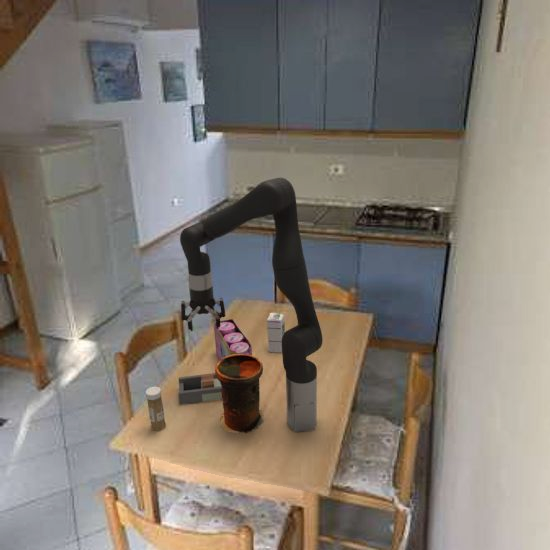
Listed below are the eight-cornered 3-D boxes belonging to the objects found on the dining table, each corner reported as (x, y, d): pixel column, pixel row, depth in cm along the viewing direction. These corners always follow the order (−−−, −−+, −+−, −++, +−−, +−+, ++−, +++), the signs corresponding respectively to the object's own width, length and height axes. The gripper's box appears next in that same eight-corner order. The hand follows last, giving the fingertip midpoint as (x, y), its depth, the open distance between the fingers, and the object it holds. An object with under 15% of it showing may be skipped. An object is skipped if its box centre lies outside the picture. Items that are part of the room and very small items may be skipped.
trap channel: (244, 396, 166) (243, 385, 164) (179, 404, 162) (178, 393, 161) (241, 380, 174) (240, 369, 172) (179, 388, 171) (178, 377, 169)
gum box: (255, 381, 174) (254, 348, 169) (234, 386, 171) (232, 353, 166) (234, 348, 194) (232, 318, 189) (215, 353, 192) (212, 322, 186)
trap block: (214, 388, 166) (213, 380, 164) (202, 389, 165) (201, 382, 164) (213, 381, 169) (213, 373, 168) (202, 382, 169) (201, 375, 167)
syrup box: (282, 353, 190) (282, 320, 184) (267, 352, 191) (266, 319, 186) (285, 345, 195) (284, 313, 190) (271, 344, 196) (269, 312, 191)
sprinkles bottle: (166, 429, 152) (161, 393, 146) (151, 432, 150) (145, 396, 145) (165, 420, 156) (160, 384, 150) (150, 423, 155) (145, 387, 149)
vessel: (234, 399, 164) (231, 348, 156) (271, 412, 158) (271, 359, 150) (209, 425, 153) (205, 371, 145) (249, 440, 147) (247, 385, 138)
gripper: (177, 291, 154) (182, 336, 160) (223, 287, 155) (226, 332, 162) (178, 281, 160) (183, 325, 167) (222, 278, 162) (225, 321, 169)
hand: (204, 328), depth 164 cm, fingers open, 8 cm apart
